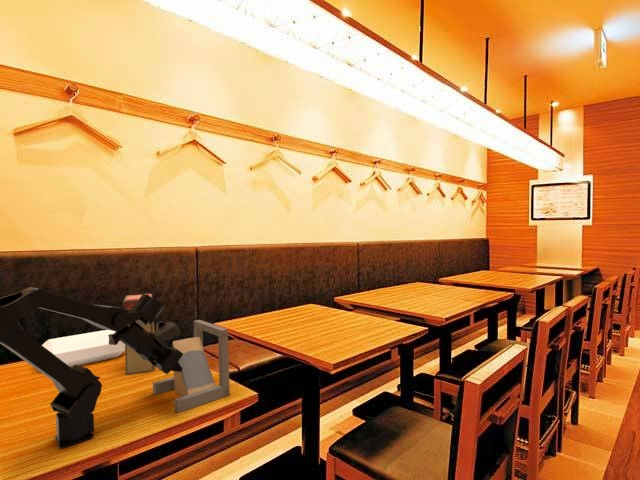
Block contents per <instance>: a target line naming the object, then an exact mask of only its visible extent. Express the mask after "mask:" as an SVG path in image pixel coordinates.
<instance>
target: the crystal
mask: <svg viewBox="0 0 640 480" xmlns="http://www.w3.org/2000/svg"><path fill="white" fill-rule="evenodd" d="M115 332H116V331H112V330H107V329H103V330H99V331H92V332H86V333H81V334H73V335H68V336H62V337H56V338H50V339H47V340H46V341H45V342H44V343H43V344H41V345H42V346H43V347H45V348H46V349H47V350H49V351H50V352H51V353H52V354H54V355H55V356H56V357H58V358H59V359H60V360H62V361H63V362H64V363H65V364H67V365H68V366H69V367H71V368H72V367H73V366H74V365H78V366H82V365H86V364H87V365H88V364H93V363H97V362H101V361H107V360H111V359H114V358H119V357H120V356H121V355H122V354H123V353H125V344H124V343H122V342H121V341H119V342H118V344H117V345H109V336H108V335H109V334H114V333H115Z"/></svg>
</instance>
